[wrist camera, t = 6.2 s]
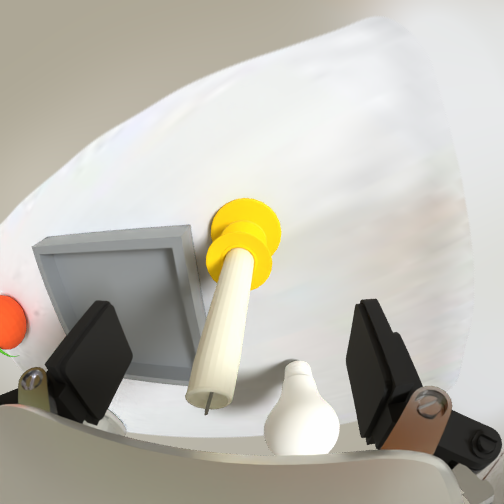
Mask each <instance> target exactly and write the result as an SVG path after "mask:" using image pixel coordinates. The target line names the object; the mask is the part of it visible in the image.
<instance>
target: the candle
mask: <svg viewBox="0 0 504 504" xmlns="http://www.w3.org/2000/svg"><path fill="white" fill-rule="evenodd" d="M211 238H212V242H213V243H212V244H211V246H210V247H209V249H208V252H207V255H206V266H207V269H208V272H209V274H210V276H211V277H212V279H213V280H214V281H215V282H216V283H217V286H216V289H215V292H214V296H213V299H212V302H211V305H210V309H209V312H208V315H207V319H206V322H205V325H204V328H203V332H202V335H201V338H200V342H199V345H198V349H197V352H196V355H195V359H194V362H193V366H192V371H191V375H190V380H189V385H188V389H187V393H186V395H185V398H186V400H187V401H188V403H190V404H191V405H193V406H195V407H198V408H203V409H205V415H207V414H208V411H209V409H220V408H224V407H226V406H228V405H229V404H231V402H232V400H233V395H234V390H235V385H236V380H237V375H238V370H239V365H240V358H241V351H242V344H243V337H244V330H245V323H246V316H247V309H248V302H249V295H250V291H251V290H253V289H256V288H258V287H259V286H261V285H262V284H263V283H264V282H265V281H266V280H267V279H268V277H269V275H270V272H271V269H272V258H271V256H272V255H273V254H274V252H275V251H276V250H277V248H278V246H279V243H280V239H281V228H280V222H279V220H278V218H277V216H276V214H275V213H274V212H273V210H272V209H271V208H270V207H269V206H267V205H266V204H264V203H263V202H261V201H258V200H255V199H249V198H241V199H236V200H233V201H231V202H228V203H226V204H225V205H224V206H223V207H222V208H220V209H219V211H218V212H217V214H216V215H215V217H214V218H213V222H212V225H211Z"/></svg>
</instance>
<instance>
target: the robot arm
mask: <svg viewBox="0 0 504 504" xmlns="http://www.w3.org/2000/svg"><path fill="white" fill-rule="evenodd" d="M132 359H133V353H132V351H131V348H130V346H129V344H128V341H127V339H126V336H125V334H124V331H123V329H122V326H121V324H120V321H119V319H118V316H117V313H116V311H115V308H114V306H113V305H111V303H110V302H109V301H101V300H97V301H95V302H94V303H93V304H92V305H91V306H90V307H89V309H88V310H87V311H86V312H85V313H84V315H83V316H82V317H81V318H80V320H79V321H78V322H77V323H76V324H75V326H74V327H73V328H72V329H71V331H70V332H69V333H68V334H67V336H66V337H65V338H64V340H63V341H62V342H61V343H60V345H59V346H58V347H57V349H56V350H55V351H54V353H53V354H52V355H51V357H50V358H49V359H48V361H47V362H46V363H45V366H46V367H47V369H48V371H47V372H45V370H44V369H42V368H40V367H34V368H31V369H29V370H27V371H26V372H24V373H23V375H22V376H21V378H20V379H19V384H18V389H15V390H12V391H10V392H7V393H5V394H2V395H0V504H464V500H463V497H462V494H461V490H462V491H463V492H464V494H463V496H464V497H465V498H466V499H467V500H468V501H469V503H470V504H504V450H503V449H502V442H501V438H500V435H499V434H498V433H497V431H496V430H494V429H493V428H491V427H489V426H486V425H484V424H481V423H480V422H477V421H475V420H473V419H470V418H468V417H466V416H464V415H462V414H460V413H457V412H455V411H453V410H452V402H451V399H450V397H449V395H448V394H447V393H446V392H445V391H444V390H442V389H440V388H438V387H434V386H425V387H423V386H422V383H421V381H420V378H419V376H418V374H417V371H416V369H415V367H414V364H413V362H412V360H411V358H410V355H409V353H408V351H407V349H406V346H405V344H404V342H403V340H402V338H401V336H400V334H399V333H397V332H394V333H393V332H392V330H391V327H390V325H389V323H388V321H387V319H386V317H385V315H384V313H383V310H382V308H381V306H380V304H379V302H378V300H377V299H365V300H361V301H360V304H356V305H355V310H354V317H353V323H352V328H351V334H350V340H349V345H348V350H347V355H346V366H347V371H348V375H349V380H350V384H351V389H352V394H353V399H354V404H355V409H356V414H357V419H358V425H359V430H360V435H361V437H362V438H365V437H366V442H367V445H369V444H375V446H376V449H378V450H367V451H356V452H344V453H343V452H342V453H332V454H317V455H287V456H264V455H263V456H262V455H238V454H225V453H214V452H206V451H197V450H190V449H183V448H177V447H171V446H165V445H159V444H155V443H150V442H145V441H141V440H137V439H132V438H128V437H125V435H126V428H125V426H124V425H123V423H122V422H121V421H120V420H119V419H118V418H117V417H116V416H115V415H114V414H113V413H112V412H110V411H109V410H108V407H109V405H110V403H111V401H112V399H113V397H114V395H115V393H116V391H117V389H118V387H119V385H120V383H121V381H122V379H123V377H124V375H125V373H126V371H127V369H128V367H129V365H130V363H131V361H132ZM460 489H461V490H460Z"/></svg>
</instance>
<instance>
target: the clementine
mask: <svg viewBox="0 0 504 504" xmlns="http://www.w3.org/2000/svg"><path fill="white" fill-rule="evenodd" d="M25 333H26V318H25V315H24V312H23V310H22V308H21V306H20V305H19V304H18V303H17V302H16V301H15V300H14V299H12V298H11V297H9V296H4V295H0V348H1V349H12V348H15V347H16V346H18V345H19V344H20V343H21V342H22V340H23V339H24V336H25ZM1 349H0V352H1V353H2V354H4V355H7V356H9V357H16V356H10V355H8V354H6V353H5V352H3V351H2V350H1ZM18 356H19V355H18Z"/></svg>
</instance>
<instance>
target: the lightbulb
mask: <svg viewBox="0 0 504 504" xmlns="http://www.w3.org/2000/svg"><path fill="white" fill-rule="evenodd" d="M284 376H285V377H284V382H283V384H282V392H281V396H280V399H279V401H278V403H277V404H276V405H275V406H274V408H273V409H272V411H271V412H270V414H269V415H268V417H267V420H266V423H265V426H264V436H265V441H266V443H267V445H268V447H269V449H270V450H271V451H272V452H273V453H274V454H275V455H276V456H287V455H317V454H327V453H328V452H329V451H330V450H331V449H332V448H333V446H334V445H335V443H336V441H337V438H338V435H339V420H338V417H337V415H336V413H335V411H334V410H333V408H332V407H331V406H330V405H329V404H328V403H327V402H326V401H325V400H324V399H323V398H322V397H321V396H320V394H319V392H318V390H317V387H316V382H315V380H314V379H313V378H312V373H311V369H310V366H309V364H308V363H306V362H304V361H294V362H291V363H289V364H288V365H287V366H286V368H285V375H284Z"/></svg>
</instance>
